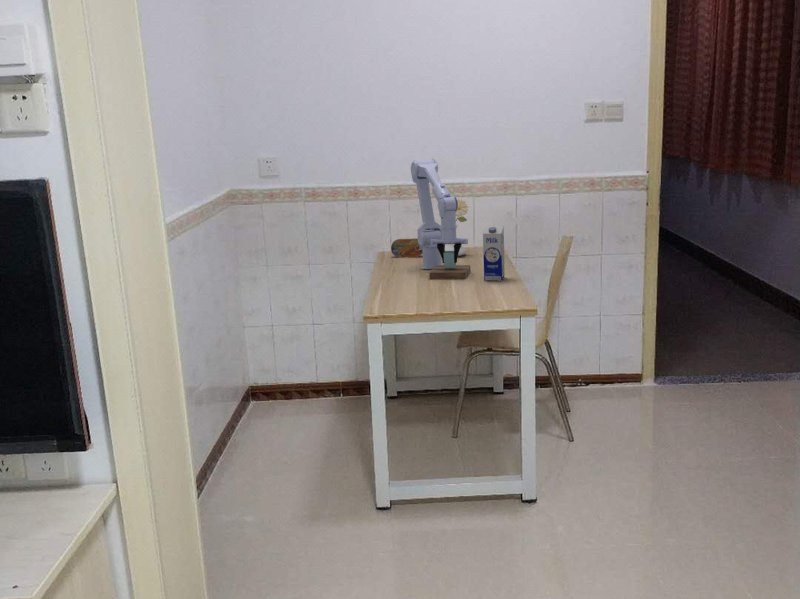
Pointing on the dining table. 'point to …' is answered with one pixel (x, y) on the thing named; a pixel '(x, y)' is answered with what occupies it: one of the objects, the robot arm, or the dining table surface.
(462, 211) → the flower in vase
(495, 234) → the milk carton
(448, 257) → the teal block
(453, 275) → the walnut base
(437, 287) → the dining table surface
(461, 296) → the dining table surface
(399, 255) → the tin
